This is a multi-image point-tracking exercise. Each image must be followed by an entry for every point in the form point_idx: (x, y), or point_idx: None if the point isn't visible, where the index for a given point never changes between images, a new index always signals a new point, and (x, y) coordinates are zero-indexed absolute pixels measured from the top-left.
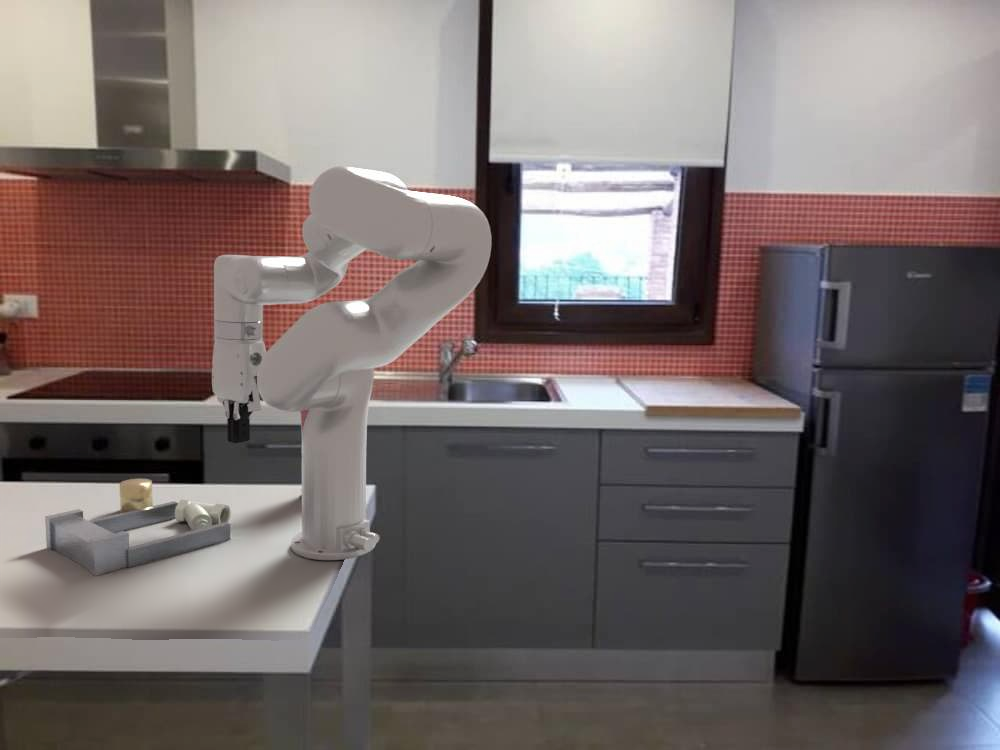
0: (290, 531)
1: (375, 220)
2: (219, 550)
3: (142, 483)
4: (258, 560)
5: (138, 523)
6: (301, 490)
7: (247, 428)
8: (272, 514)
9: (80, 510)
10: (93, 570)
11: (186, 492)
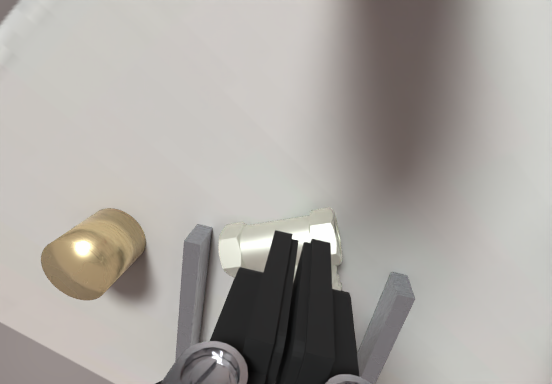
0: (510, 180)
1: None
2: (427, 321)
3: (90, 270)
4: (535, 331)
5: (202, 298)
6: None
7: (353, 331)
8: (380, 100)
9: None
10: None
11: (59, 84)
